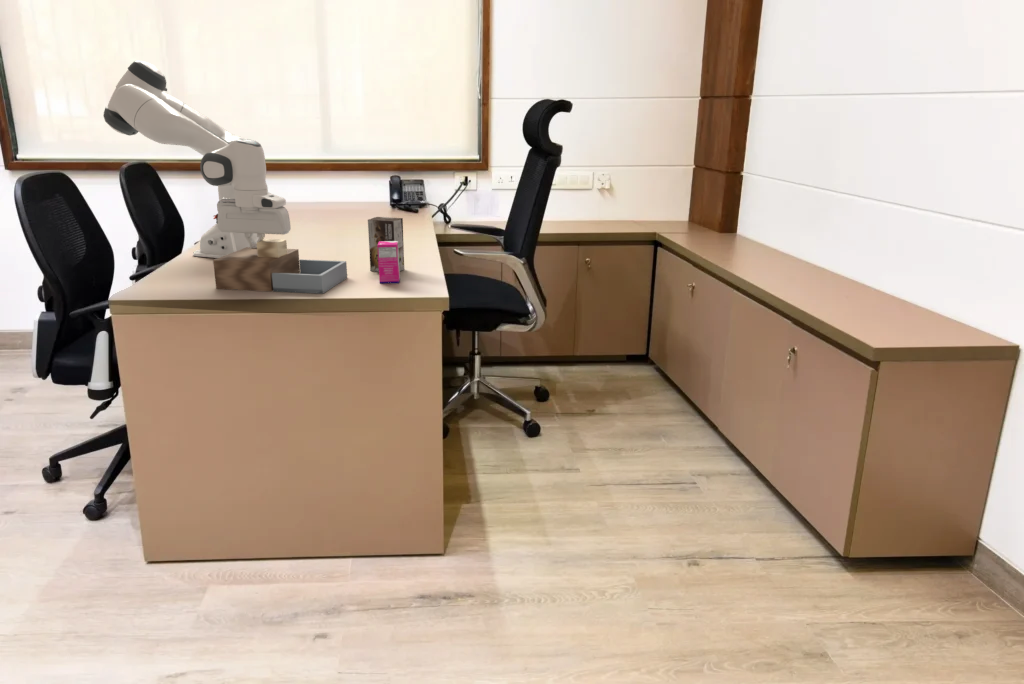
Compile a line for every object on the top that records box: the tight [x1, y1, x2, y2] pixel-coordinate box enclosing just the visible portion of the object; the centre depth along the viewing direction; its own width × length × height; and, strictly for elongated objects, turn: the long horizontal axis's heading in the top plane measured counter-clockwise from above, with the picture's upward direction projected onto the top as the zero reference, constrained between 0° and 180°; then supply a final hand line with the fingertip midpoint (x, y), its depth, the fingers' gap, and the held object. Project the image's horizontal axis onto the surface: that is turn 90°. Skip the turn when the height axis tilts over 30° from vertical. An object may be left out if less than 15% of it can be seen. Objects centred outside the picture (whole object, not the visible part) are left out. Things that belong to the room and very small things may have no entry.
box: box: [272, 258, 348, 295], centre depth 212 cm, size 14×20×5 cm
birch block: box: [257, 238, 288, 258], centre depth 211 cm, size 6×6×4 cm
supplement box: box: [377, 241, 401, 284], centre depth 217 cm, size 6×6×12 cm
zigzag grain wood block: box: [212, 247, 300, 292], centre depth 214 cm, size 16×20×8 cm
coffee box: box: [367, 216, 405, 272], centre depth 231 cm, size 9×6×16 cm
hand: (255, 248), depth 212 cm, fingers closed
